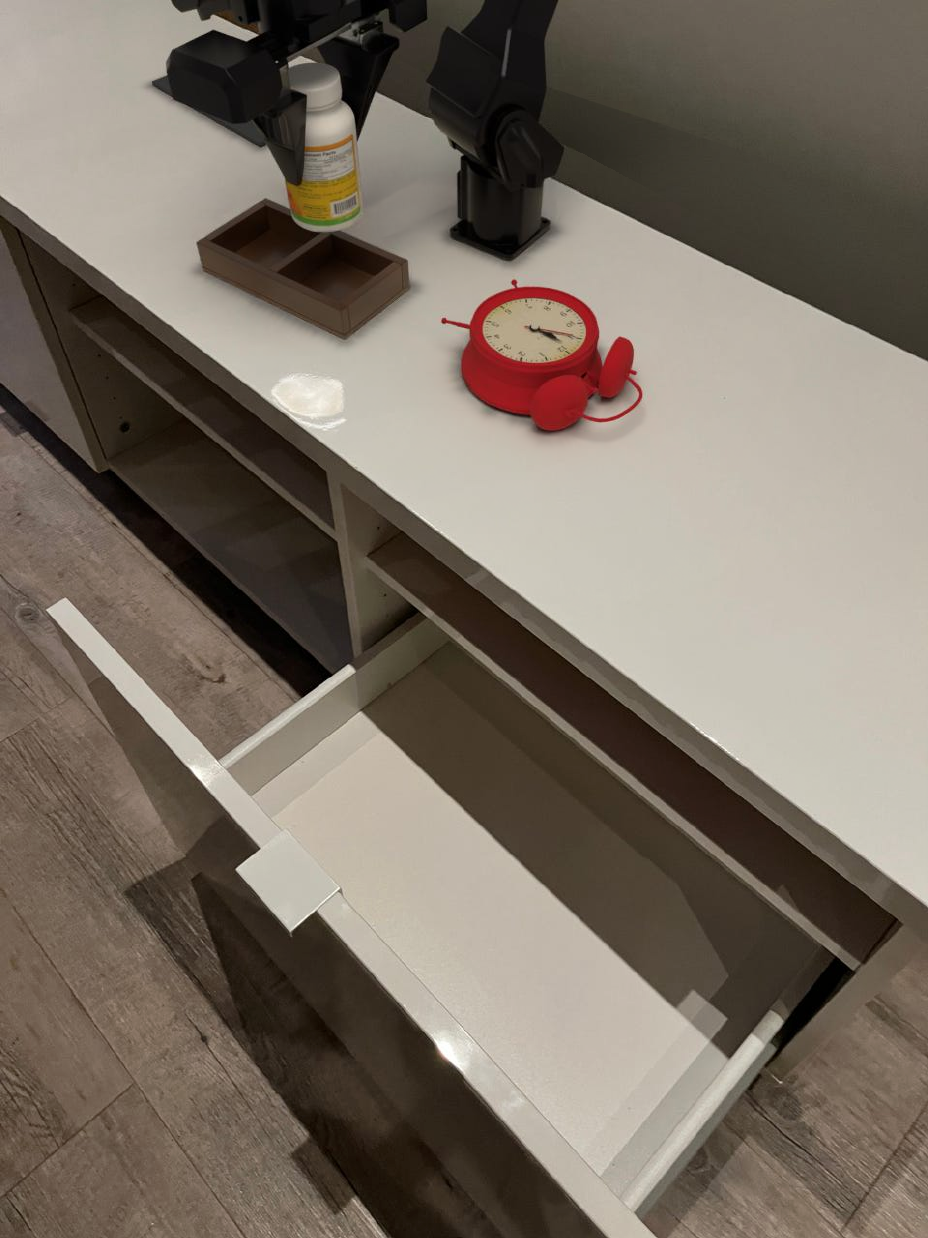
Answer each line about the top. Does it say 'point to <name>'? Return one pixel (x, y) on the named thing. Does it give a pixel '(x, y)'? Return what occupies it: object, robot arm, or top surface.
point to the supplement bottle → (326, 154)
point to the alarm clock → (542, 356)
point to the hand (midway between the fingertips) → (321, 166)
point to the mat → (242, 129)
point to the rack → (304, 268)
